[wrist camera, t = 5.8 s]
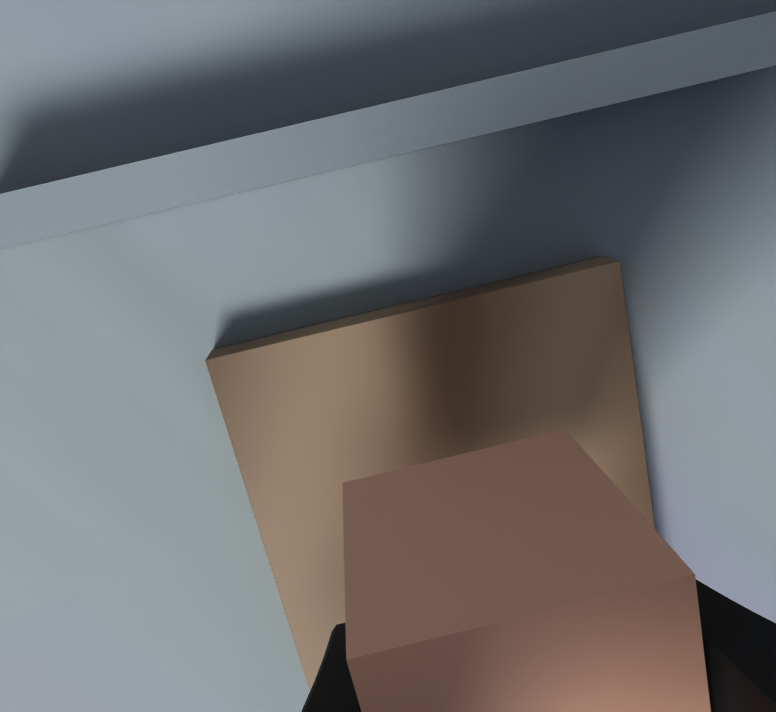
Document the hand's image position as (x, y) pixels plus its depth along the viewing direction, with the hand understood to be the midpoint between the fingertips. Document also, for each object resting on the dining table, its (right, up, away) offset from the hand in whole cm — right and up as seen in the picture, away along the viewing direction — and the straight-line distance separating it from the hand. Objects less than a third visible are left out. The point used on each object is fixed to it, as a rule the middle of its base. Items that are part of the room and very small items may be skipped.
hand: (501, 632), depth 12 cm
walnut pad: (0, +2, +6) cm, 6 cm away
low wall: (-1, +10, +3) cm, 11 cm away
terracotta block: (0, +1, +2) cm, 2 cm away
